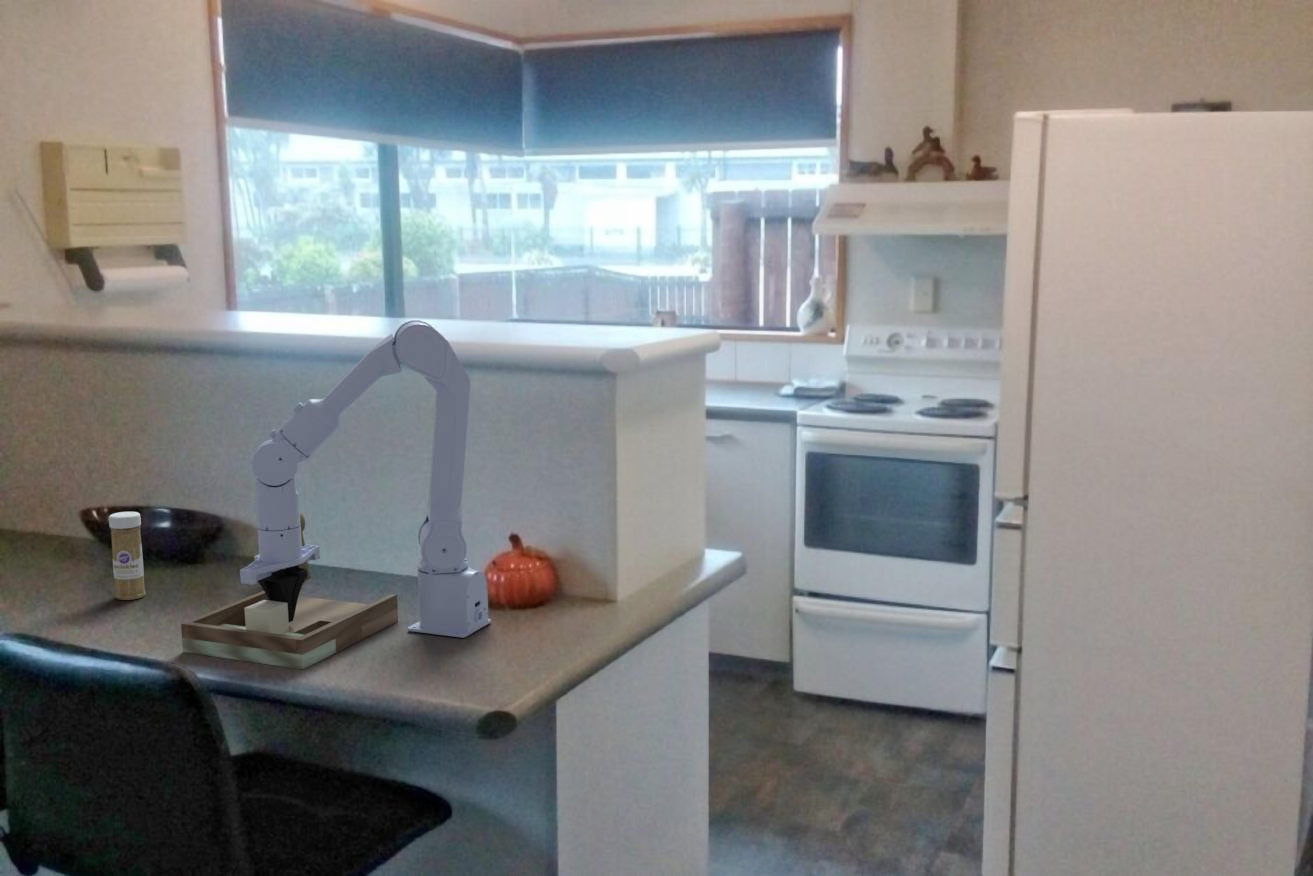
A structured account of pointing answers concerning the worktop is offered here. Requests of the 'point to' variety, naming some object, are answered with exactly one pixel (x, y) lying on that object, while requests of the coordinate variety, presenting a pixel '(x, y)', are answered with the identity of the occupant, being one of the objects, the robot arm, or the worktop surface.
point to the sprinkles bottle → (127, 555)
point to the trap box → (307, 641)
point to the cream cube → (267, 617)
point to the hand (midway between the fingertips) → (284, 621)
